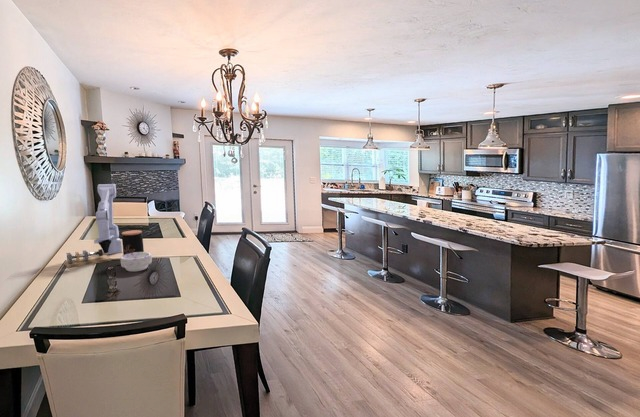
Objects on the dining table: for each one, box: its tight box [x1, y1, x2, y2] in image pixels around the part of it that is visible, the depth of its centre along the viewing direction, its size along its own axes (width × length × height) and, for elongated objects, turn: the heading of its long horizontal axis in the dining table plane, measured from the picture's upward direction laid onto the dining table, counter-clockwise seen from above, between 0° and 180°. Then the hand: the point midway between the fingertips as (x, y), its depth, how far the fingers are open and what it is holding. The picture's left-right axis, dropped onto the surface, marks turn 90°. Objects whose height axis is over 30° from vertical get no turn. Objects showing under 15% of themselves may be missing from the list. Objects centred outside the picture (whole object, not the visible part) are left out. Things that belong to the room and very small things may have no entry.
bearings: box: [66, 250, 89, 264], centre depth 227 cm, size 10×6×5 cm, turn 130°
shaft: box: [71, 248, 104, 260], centre depth 230 cm, size 16×4×4 cm, turn 130°
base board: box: [63, 254, 112, 269], centre depth 230 cm, size 22×12×2 cm, turn 130°
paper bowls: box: [119, 251, 153, 273], centre depth 214 cm, size 15×15×8 cm
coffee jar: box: [121, 229, 145, 256], centre depth 227 cm, size 11×11×18 cm
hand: (105, 252), depth 236 cm, fingers closed
